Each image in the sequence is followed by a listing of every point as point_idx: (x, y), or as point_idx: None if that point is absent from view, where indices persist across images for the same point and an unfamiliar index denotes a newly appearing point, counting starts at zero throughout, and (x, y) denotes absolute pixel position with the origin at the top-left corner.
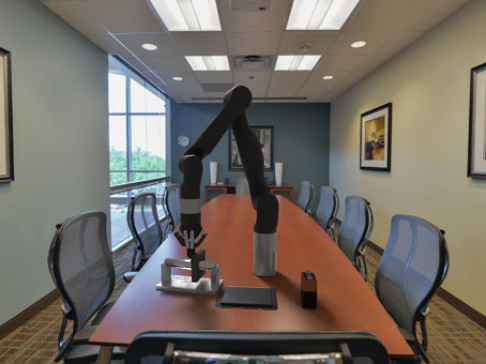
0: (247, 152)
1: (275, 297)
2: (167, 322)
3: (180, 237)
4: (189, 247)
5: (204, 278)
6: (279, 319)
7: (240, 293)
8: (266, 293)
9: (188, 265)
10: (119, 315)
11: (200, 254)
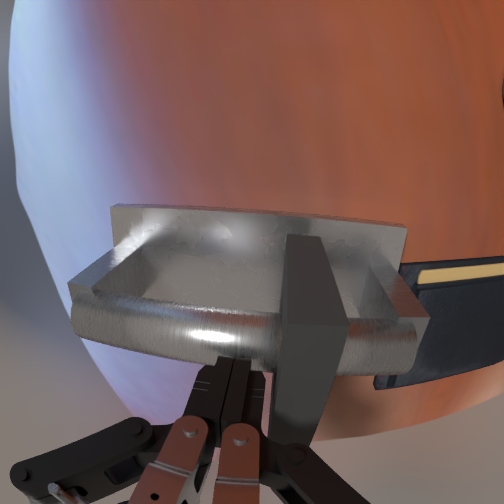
0: None
1: None
2: None
3: (97, 492)
4: (211, 450)
5: (309, 225)
6: (492, 385)
7: (457, 334)
8: None
9: None
10: (147, 417)
11: (318, 417)
